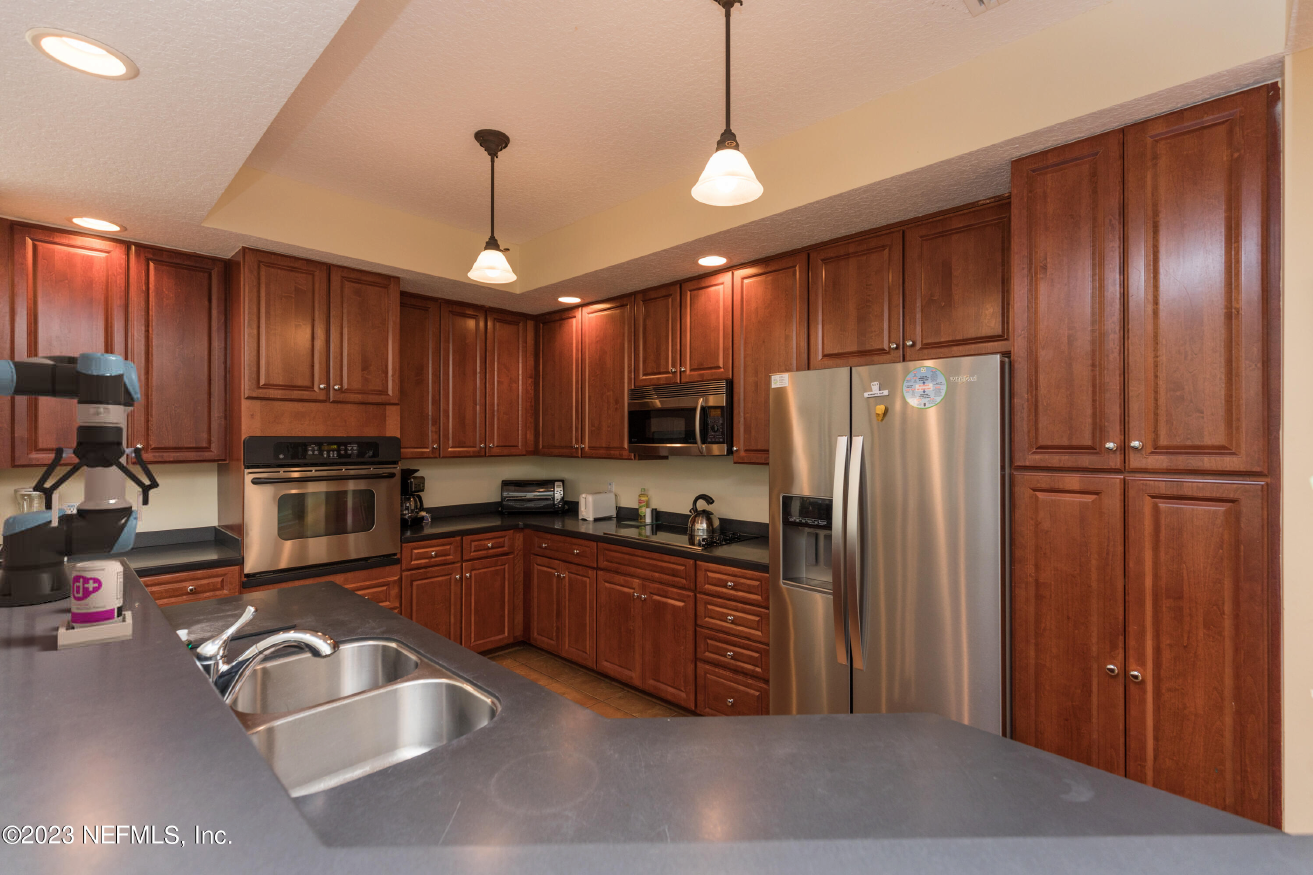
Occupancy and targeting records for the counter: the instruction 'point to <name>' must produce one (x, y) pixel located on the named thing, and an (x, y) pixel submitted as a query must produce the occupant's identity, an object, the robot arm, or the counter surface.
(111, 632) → the off-white tray
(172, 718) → the counter surface
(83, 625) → the supplement can
